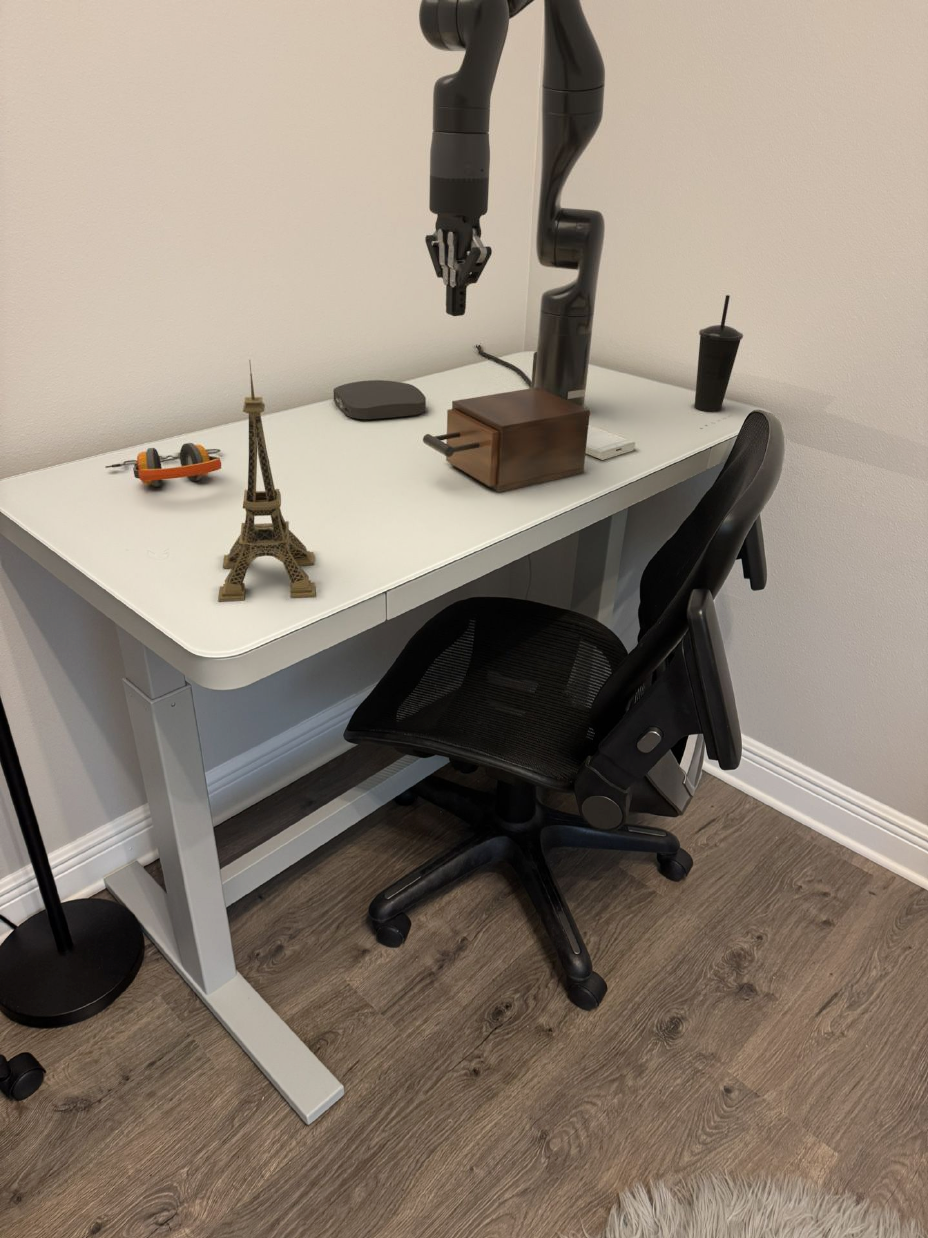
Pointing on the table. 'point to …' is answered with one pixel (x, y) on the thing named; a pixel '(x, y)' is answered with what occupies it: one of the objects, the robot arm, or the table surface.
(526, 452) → the cabinet
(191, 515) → the table surface
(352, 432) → the table surface
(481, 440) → the drawer
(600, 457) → the hard drive
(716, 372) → the drinking cup
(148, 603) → the table surface
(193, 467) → the headphones
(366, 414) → the media streaming box
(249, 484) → the eiffel tower
